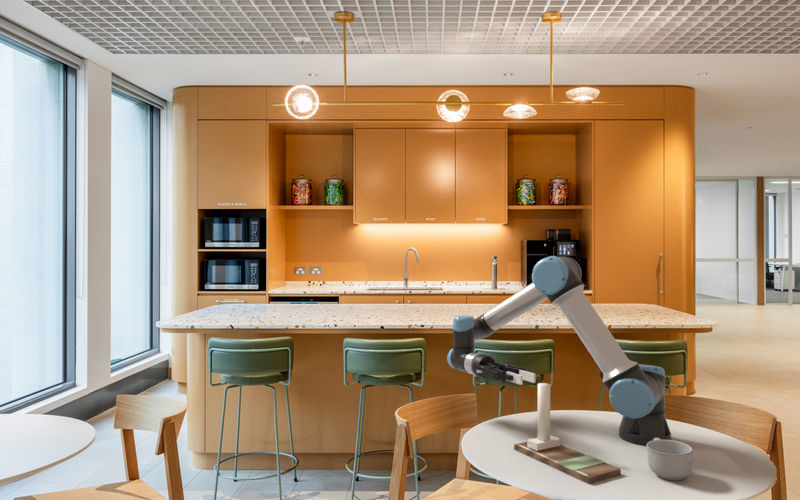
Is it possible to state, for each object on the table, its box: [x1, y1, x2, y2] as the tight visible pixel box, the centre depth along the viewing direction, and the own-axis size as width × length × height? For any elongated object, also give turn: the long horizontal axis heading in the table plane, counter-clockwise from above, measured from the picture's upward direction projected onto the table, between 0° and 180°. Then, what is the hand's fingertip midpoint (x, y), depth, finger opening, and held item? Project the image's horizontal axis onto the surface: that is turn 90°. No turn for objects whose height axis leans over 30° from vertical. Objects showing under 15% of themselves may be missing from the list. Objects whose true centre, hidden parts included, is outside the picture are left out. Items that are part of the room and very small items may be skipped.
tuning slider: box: [526, 382, 561, 451], centre depth 163 cm, size 4×9×18 cm, turn 120°
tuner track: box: [513, 441, 622, 485], centre depth 156 cm, size 28×12×2 cm, turn 30°
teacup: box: [646, 438, 693, 481], centre depth 148 cm, size 14×11×8 cm
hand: (528, 379), depth 169 cm, fingers open, 4 cm apart
